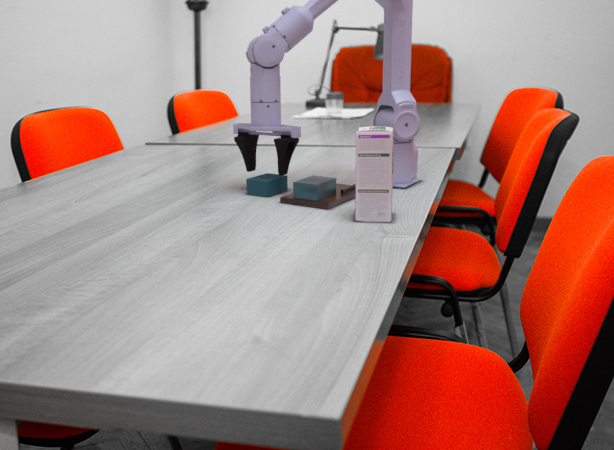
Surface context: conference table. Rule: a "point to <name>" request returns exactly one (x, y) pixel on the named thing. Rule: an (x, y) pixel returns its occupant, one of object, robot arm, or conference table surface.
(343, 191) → the assembly board
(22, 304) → the conference table surface
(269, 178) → the loose pad
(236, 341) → the conference table surface
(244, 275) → the conference table surface
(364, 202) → the syrup box
